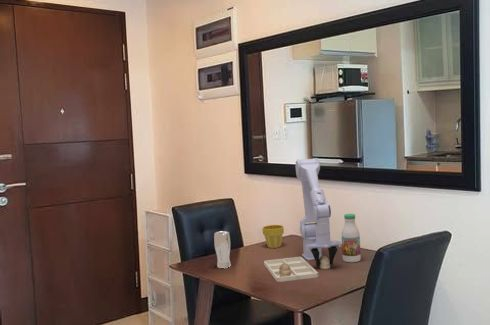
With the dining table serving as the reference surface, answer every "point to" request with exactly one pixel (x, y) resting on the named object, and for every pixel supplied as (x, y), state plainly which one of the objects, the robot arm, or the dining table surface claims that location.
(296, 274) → the white compartment tray
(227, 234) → the beer glass
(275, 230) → the plant pot
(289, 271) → the tan tiered dome
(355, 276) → the dining table surface
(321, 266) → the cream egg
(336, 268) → the dining table surface
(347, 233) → the milk bottle
